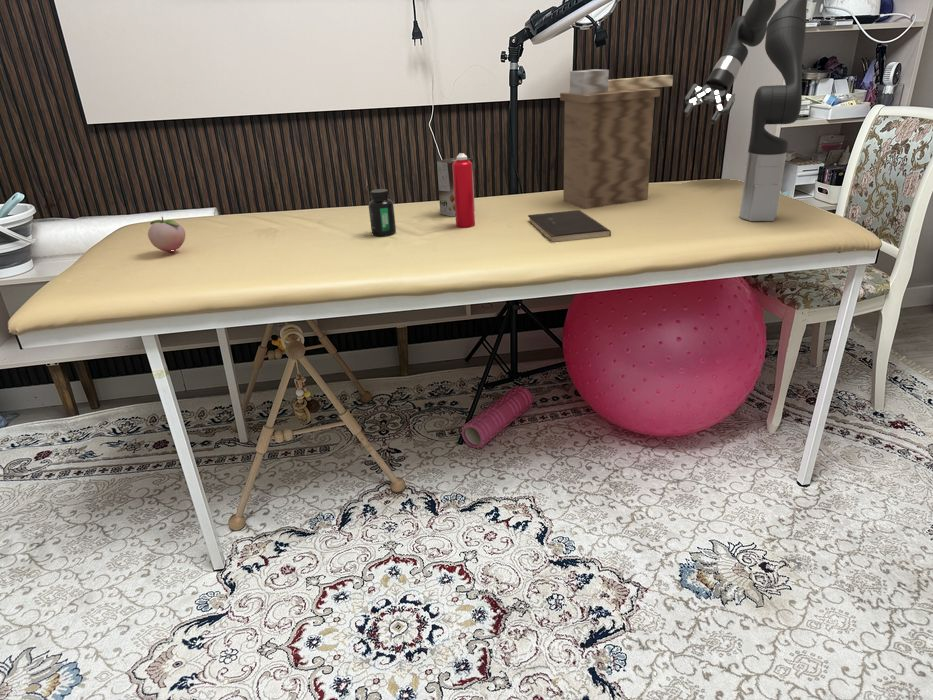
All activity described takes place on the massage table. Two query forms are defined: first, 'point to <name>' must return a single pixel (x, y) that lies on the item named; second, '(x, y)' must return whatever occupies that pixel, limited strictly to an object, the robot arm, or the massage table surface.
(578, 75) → the bar
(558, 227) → the hardcover book
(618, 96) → the plinth
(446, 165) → the coffee box
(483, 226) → the massage table surface
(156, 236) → the decorative fruit
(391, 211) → the supplement bottle
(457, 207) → the bottle
